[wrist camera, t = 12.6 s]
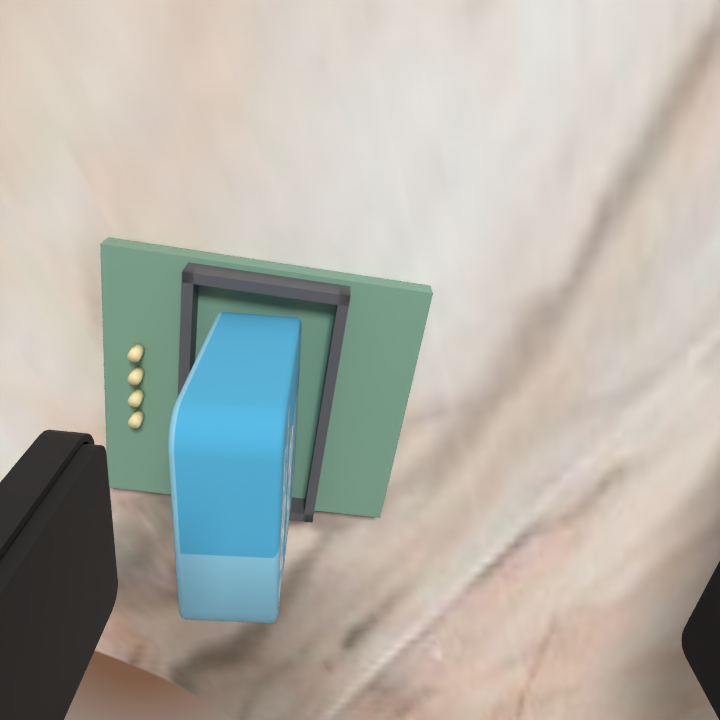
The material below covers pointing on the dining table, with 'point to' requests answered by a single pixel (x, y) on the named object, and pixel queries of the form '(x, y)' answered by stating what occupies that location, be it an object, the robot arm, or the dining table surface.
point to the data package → (235, 468)
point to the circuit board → (316, 374)
